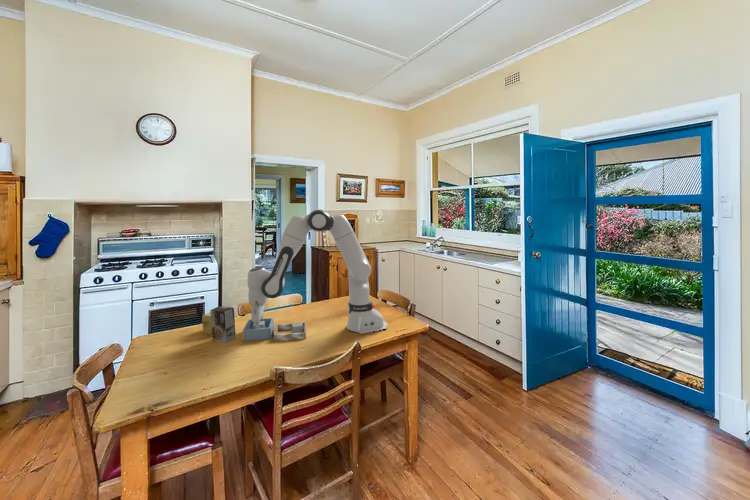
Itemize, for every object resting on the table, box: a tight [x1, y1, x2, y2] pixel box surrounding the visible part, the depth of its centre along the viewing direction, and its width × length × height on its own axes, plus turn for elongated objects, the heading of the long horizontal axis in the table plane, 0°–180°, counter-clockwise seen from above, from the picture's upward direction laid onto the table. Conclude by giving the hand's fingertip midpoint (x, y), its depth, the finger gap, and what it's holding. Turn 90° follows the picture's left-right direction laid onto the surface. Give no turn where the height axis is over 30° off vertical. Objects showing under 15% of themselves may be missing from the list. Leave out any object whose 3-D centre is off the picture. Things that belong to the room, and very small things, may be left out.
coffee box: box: [209, 305, 237, 344], centre depth 159 cm, size 9×6×16 cm
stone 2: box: [291, 322, 304, 333], centre depth 167 cm, size 5×5×5 cm
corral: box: [273, 322, 307, 342], centre depth 167 cm, size 16×15×3 cm
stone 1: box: [253, 321, 265, 329], centre depth 167 cm, size 5×5×5 cm
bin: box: [242, 317, 275, 341], centre depth 167 cm, size 13×15×6 cm
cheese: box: [201, 311, 213, 335], centre depth 170 cm, size 10×11×10 cm
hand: (259, 324), depth 167 cm, fingers open, 8 cm apart
